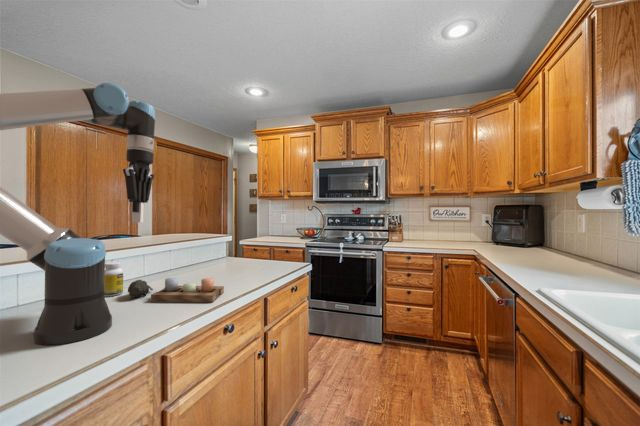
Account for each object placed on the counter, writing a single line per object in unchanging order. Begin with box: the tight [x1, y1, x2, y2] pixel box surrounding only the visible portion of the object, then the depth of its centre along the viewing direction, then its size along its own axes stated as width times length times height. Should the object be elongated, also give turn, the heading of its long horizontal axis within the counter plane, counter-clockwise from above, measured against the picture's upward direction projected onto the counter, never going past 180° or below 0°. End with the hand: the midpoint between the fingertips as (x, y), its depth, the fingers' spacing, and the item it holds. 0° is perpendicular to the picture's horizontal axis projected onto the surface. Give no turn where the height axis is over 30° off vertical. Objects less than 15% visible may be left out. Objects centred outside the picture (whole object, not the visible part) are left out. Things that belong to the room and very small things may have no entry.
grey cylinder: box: [164, 277, 179, 292], centre depth 103 cm, size 4×4×4 cm
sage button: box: [182, 282, 197, 292], centre depth 103 cm, size 4×4×4 cm
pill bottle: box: [104, 261, 124, 298], centre depth 104 cm, size 6×6×12 cm
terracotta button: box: [200, 277, 215, 292], centre depth 103 cm, size 4×4×4 cm
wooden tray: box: [150, 285, 225, 304], centre depth 103 cm, size 21×12×2 cm, turn 92°
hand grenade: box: [127, 279, 154, 298], centre depth 104 cm, size 6×7×12 cm
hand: (137, 222), depth 93 cm, fingers closed
